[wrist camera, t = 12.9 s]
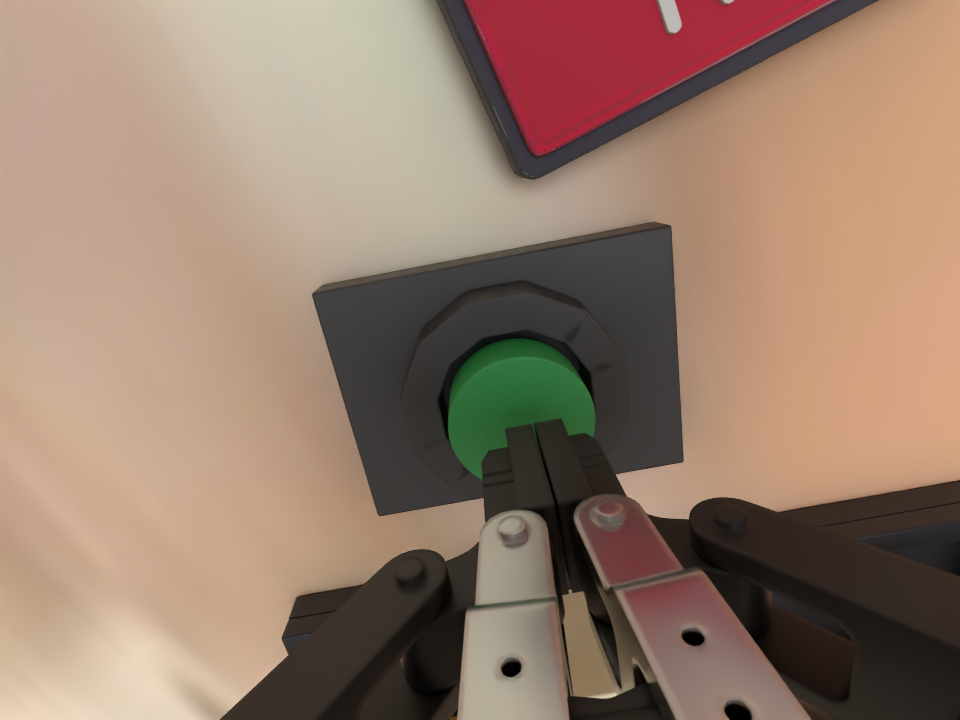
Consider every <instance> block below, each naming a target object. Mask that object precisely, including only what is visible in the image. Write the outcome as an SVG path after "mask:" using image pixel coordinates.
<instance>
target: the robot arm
mask: <svg viewBox="0 0 960 720" xmlns="http://www.w3.org/2000/svg"><path fill="white" fill-rule="evenodd" d="M534 428H535V433H534V429H533V426H532V424H527V425H521V426H516V427H510V428H505V432H506V438H507V443H508V447H505V448H499V449H494V450H488V452H487V454H486V456H485V457H484V459H483V461H482V462H481V465H482V480H483V495H484V509H485V524H484V526H483V527H482V529H481V531H480V535H479V542H478V543H477V544H476V545H475V546H474V547H473V548H472V549H470V550H469V551H467V552H466V553H464V554H462V555H460V556H458V557H455V558H453V559H451V560H448V561H446V562H445V560H444V559H443V557H442V556H441V555H440V554H438V553H436V552H434V551H431V550H425V549H419V550H412V551H408V552H405V553H403V554H400V555H398V556H396V557H395V558H393V559H392V560H390V561H389V562H388V563H387V564H385V565H384V566H383V567H382V568H381V569H380V570H379V571H378V572H377V573H376V574H375V575H374V576H373V577H372V578H370V579H369V580H368V581H367V582H366V583H365V584H364V585H363V586H362V587H361V588H360V589H359V590H358V591H357V592H356V593H354V594H353V595H352V596H351V597H350V598H349V599H348V600H347V601H346V602H345V603H344V604H343V605H342V606H341V607H339V608H338V609H337V610H336V611H335V612H334V613H333V614H332V615H331V616H330V617H329V618H328V619H327V620H326V621H325V622H323V623H322V624H321V625H320V626H319V627H318V628H317V629H316V630H315V631H314V632H313V633H312V634H311V635H310V636H309V637H307V638H306V639H305V640H304V641H303V642H302V643H301V644H300V645H299V646H298V647H297V648H296V649H295V650H294V651H293V652H291V653H290V654H289V655H288V656H287V657H286V658H285V659H284V660H283V661H282V662H281V663H280V664H279V665H278V666H277V667H275V668H274V669H273V670H272V671H271V672H270V673H269V674H268V675H267V676H266V677H265V678H264V679H263V680H262V681H261V682H259V683H258V684H257V685H256V686H255V687H254V688H253V689H252V690H251V691H250V692H249V693H248V694H247V695H246V696H244V697H243V698H242V699H241V700H240V701H239V702H238V703H237V704H236V705H235V706H234V707H233V708H232V709H231V710H230V711H228V712H227V713H226V714H225V715H224V716H223V717H222V718H221V719H220V720H450V718H451V717H452V715H453V714H454V713H455V711H456V710H457V708H458V715H457V720H960V576H957V575H954V574H951V573H948V572H946V571H943V570H940V569H937V568H934V567H931V566H929V565H926V564H923V563H920V562H917V561H914V560H912V559H909V558H906V557H903V556H900V555H897V554H895V553H892V552H889V551H886V550H883V549H880V548H878V547H875V546H872V545H869V544H866V543H863V542H861V541H858V540H855V539H852V538H849V537H846V536H843V535H841V534H838V533H835V532H832V531H829V530H826V529H824V528H821V527H818V526H815V525H812V524H809V523H807V522H804V521H801V520H798V519H795V518H792V517H790V516H787V515H784V514H781V513H778V512H775V511H773V510H770V509H767V508H764V507H761V506H758V505H756V504H753V503H750V502H747V501H744V500H740V499H735V498H724V497H720V498H712V499H707V500H705V501H702V502H700V503H698V504H697V505H696V506H694V507H693V509H692V510H691V512H690V516H689V520H687V519H668V518H660V517H655V516H652V515H648V514H646V513H645V511H644V510H643V508H642V507H641V506H640V504H639V503H637V502H636V501H635V500H633V499H631V498H629V497H627V496H626V494H625V492H624V490H623V488H622V486H621V484H620V483H619V481H618V479H617V477H616V475H615V473H614V471H613V469H612V467H611V465H610V464H609V461H608V459H607V457H606V455H605V454H604V451H603V449H602V447H601V446H600V444H599V442H598V441H597V440H596V439H594V438H593V437H591V436H589V435H588V434H586V433H581V434H575V435H570V436H569V435H568V433H567V431H566V428H565V426H564V423H563V421H562V419H561V418H559V419H553V420H548V421H542V422H537V423H534ZM535 435H536V436H535ZM564 564H565V565H564ZM565 567H566V571H567V575H568V579H569V583H570V586H571V590H572V593H577V592H583V593H584V596H585V599H586V603H587V610H588V617H589V622H590V626H591V629H592V631H593V634H594V637H595V639H596V642H597V644H598V647H599V650H600V652H601V655H602V658H603V660H604V663H605V665H606V668H607V671H608V673H609V676H610V678H611V681H612V684H613V686H614V689H615V692H616V694H617V696H615V697H612V698H607V699H601V698H590V697H578V696H574V693H573V685H572V678H571V671H570V663H569V656H568V648H567V641H566V634H565V627H564V617H565V608H564V602H563V597H562V595H567V594H569V589H568V583H567V577H566V571H565ZM772 592H773V593H775V594H777V595H780V596H782V597H784V598H786V599H788V600H790V601H792V602H795V603H797V604H799V605H801V606H803V607H805V608H807V609H810V610H812V611H814V612H816V613H818V614H820V615H822V616H825V617H827V618H829V619H831V620H832V621H834V622H835V623H837V624H838V625H839V626H841V627H842V628H843V629H844V630H845V631H846V632H847V634H848V635H849V636H850V638H851V640H852V641H850V640H848V639H846V638H844V637H842V636H840V635H838V634H836V633H833V632H831V631H829V630H827V629H825V628H823V627H821V626H819V625H817V624H815V623H813V622H811V621H809V620H806V619H804V618H802V617H800V616H798V615H796V614H794V613H792V612H790V611H788V610H786V609H784V608H782V607H779V606H777V605H775V604H773V603H772ZM399 660H400V662H399V663H398V661H399ZM397 663H398V664H397ZM396 664H397V665H396ZM395 665H396V667H395V668H394V669H393V670H392V668H393V667H394V666H395ZM391 670H392V671H391ZM390 671H391V672H390ZM389 672H390V673H389ZM388 673H389V675H388V676H387V677H386V678H385V676H386V675H387V674H388ZM384 678H385V679H384ZM383 679H384V680H383ZM382 680H383V682H382V683H381V684H380V685H379V683H380V682H381V681H382ZM378 685H379V686H378ZM377 686H378V687H377ZM376 687H377V689H376V690H375V691H374V692H373V690H374V689H375V688H376ZM372 692H373V693H372ZM371 693H372V694H371ZM370 694H371V696H370V697H369V695H370ZM368 697H369V698H368ZM367 698H368V699H367Z"/></svg>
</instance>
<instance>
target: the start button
mask: <svg viewBox="0 0 960 720" xmlns="http://www.w3.org/2000/svg"><path fill="white" fill-rule="evenodd" d="M559 418H561V419H562V421H563V423H564V426H565V428H566V431H567V433H568V435H569V436H570V435H575V434H581V433H586V434H588V435H589V436H591V437H593V434H594V430H595V409H594V404H593V401H592V398H591V395H590V393H589V392H588V390H587V388H586V386H585V384H584V383H583V381H582V379H581V378H580V376H579V374H578V373H577V371H576V369H575V368H574V366H573V365H572V364H571V362H570V361H569V360H568V359H567V358H566V357H565V356H564V355H563V354H562V353H561V352H560V351H558V350H557V349H555V348H554V347H552V346H550V345H548V344H546V343H543V342H541V341H537V340H533V339H526V338H511V339H504V340H500V341H496V342H494V343H491V344H488V345H486V346H485V347H483V348H481V349H479V350H478V351H476V352H475V353H474V354H472V355H471V356H470V357H469V358H468V359H467V360H466V361H465V362H464V363H463V365H462V366H461V367H460V369H459V370H458V372H457V373H456V375H455V378H454V380H453V382H452V386H451V389H450V395H449V412H448V432H449V439H450V442H451V445H452V448H453V450H454V452H455V454H456V456H457V458H458V459H459V461H460V462H461V463H462V464H463V465H464V467H465V468H466V469H467V470H469V471H470V472H471V473H472V474H473V475H475V476H476V477H478V478H479V479H481V480H482V465H481V462H482V461H483V459H484V457H485V456H486V454H487V452H488V450H494V449H499V448H505V447H508V443H507V438H506V432H505V428H510V427H516V426H521V425H527V424H532V426H533V429H534V433H535V428H534V423H537V422H542V421H548V420H553V419H559ZM535 436H536V435H535Z"/></svg>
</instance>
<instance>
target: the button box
mask: <svg viewBox="0 0 960 720" xmlns="http://www.w3.org/2000/svg"><path fill="white" fill-rule="evenodd" d="M312 297H313V300H314V304H315V307H316V310H317V314H318V317H319V320H320V324H321V327H322V330H323V334H324V337H325V340H326V344H327V347H328V350H329V354H330V357H331V360H332V364H333V367H334V370H335V373H336V377H337V380H338V383H339V387H340V390H341V393H342V397H343V400H344V403H345V407H346V410H347V413H348V417H349V420H350V423H351V427H352V430H353V433H354V437H355V440H356V443H357V447H358V450H359V453H360V457H361V460H362V463H363V467H364V470H365V473H366V477H367V480H368V483H369V487H370V490H371V493H372V497H373V500H374V503H375V507H376V510H377V513H378V515H379V516H384V515H389V514H395V513H401V512H406V511H412V510H418V509H423V508H429V507H434V506H440V505H446V504H451V503H457V502H462V501H468V500H474V499H479V498H484V495H483V480H481V479H479V478H478V477H476V476H475V475H473V474H472V473H471V472H470V471H469V470H467V469H466V468H465V467H464V465H463V464H462V463H461V462H460V461H459V459H458V458H457V456H456V454H455V452H454V450H453V448H452V445H451V442H450V439H449V432H448V412H449V395H450V389H451V386H452V382H453V380H454V378H455V375H456V373H457V372H458V370H459V369H460V367H461V366H462V365H463V363H464V362H465V361H466V360H467V359H468V358H469V357H470V356H471V355H472V354H474V353H475V352H476V351H478V350H479V349H481V348H483V347H485V346H486V345H488V344H491V343H494V342H496V341H500V340H504V339H511V338H526V339H533V340H537V341H541V342H543V343H546V344H548V345H550V346H552V347H554V348H555V349H557V350H558V351H560V352H561V353H562V354H563V355H564V356H565V357H566V358H567V359H568V360H569V361H570V362H571V364H572V365H573V366H574V368H575V369H576V371H577V373H578V374H579V376H580V378H581V379H582V381H583V383H584V384H585V386H586V388H587V390H588V392H589V393H590V395H591V398H592V401H593V404H594V409H595V430H594V434H593V438H594V439H596V440H597V441H598V442H599V444H600V446H601V447H602V449H603V451H604V454H605V455H606V457H607V459H608V461H609V464H610V465H611V467H612V469H613V471H614V473H615V474H620V473H625V472H631V471H636V470H642V469H648V468H653V467H659V466H664V465H670V464H676V463H681V462H683V461H684V459H683V440H682V421H681V402H680V383H679V364H678V345H677V325H676V306H675V287H674V268H673V249H672V230H671V226H670V225H666V224H662V223H657V222H652V223H647V224H641V225H636V226H631V227H626V228H620V229H615V230H610V231H605V232H599V233H594V234H589V235H584V236H578V237H573V238H568V239H563V240H557V241H552V242H547V243H542V244H536V245H531V246H526V247H521V248H515V249H510V250H505V251H500V252H494V253H489V254H484V255H478V256H473V257H468V258H463V259H457V260H452V261H447V262H442V263H436V264H431V265H426V266H421V267H415V268H410V269H405V270H400V271H394V272H389V273H384V274H379V275H373V276H368V277H363V278H358V279H352V280H347V281H342V282H337V283H331V284H326V285H323V286H321V287H320V288H319V289H317V290H316V291H315V292H314V293H312Z"/></svg>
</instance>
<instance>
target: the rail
mask: <svg viewBox="0 0 960 720" xmlns="http://www.w3.org/2000/svg"><path fill="white" fill-rule="evenodd" d="M781 514H784V515H787V516H790V517H792V518H795V519H798V520H801V521H804V522H807V523H809V524H812V525H815V526H818V527H821V528H824V529H826V530H829V531H832V532H835V533H838V534H841V535H843V536H846V537H849V538H852V539H855V540H858V541H861V542H863V543H866V544H869V545H872V546H875V547H878V548H880V549H883V550H886V551H889V552H892V553H895V554H897V555H900V556H903V557H906V558H909V559H912V560H914V561H917V562H920V563H923V564H926V565H929V566H931V567H934V568H937V569H940V570H943V571H946V572H948V573H951V574H954V575H957V576H960V481H958V482H952V483H947V484H941V485H935V486H930V487H924V488H918V489H912V490H907V491H901V492H895V493H890V494H884V495H878V496H872V497H867V498H861V499H855V500H850V501H844V502H838V503H832V504H827V505H821V506H815V507H810V508H804V509H798V510H792V511H787V512H781ZM564 565H565V564H564ZM565 571H566V567H565ZM566 577H567V583H568V589H569V590H571V586H570V583H569V579H568V575H567V571H566ZM361 587H362V586H358V587H352V588H347V589H341V590H335V591H329V592H324V593H318V594H312V595H307V596H301V597H297V598H296V601H295V604H294V606H293V609H292V611H291V614H290V617H289V620H288V623H287V625H286V628H285V631H284V633H283V636H282V641H283V643H284V646H285V648H286V650H287V653H288V655H289V654H290V653H291V652H293V651H294V650H295V649H296V648H297V647H298V646H299V645H300V644H301V643H302V642H303V641H304V640H305V639H306V638H307V637H309V636H310V635H311V634H312V633H313V632H314V631H315V630H316V629H317V628H318V627H319V626H320V625H321V624H322V623H323V622H325V621H326V620H327V619H328V618H329V617H330V616H331V615H332V614H333V613H334V612H335V611H336V610H337V609H338V608H339V607H341V606H342V605H343V604H344V603H345V602H346V601H347V600H348V599H349V598H350V597H351V596H352V595H353V594H354V593H356V592H357V591H358V590H359V589H360V588H361ZM772 603H773V604H775V605H777V606H779V607H782V608H784V609H786V610H788V611H790V612H792V613H794V614H796V615H798V616H800V617H802V618H804V619H806V620H809V621H811V622H813V623H815V624H817V625H819V626H821V627H823V628H825V629H827V630H829V631H831V632H833V633H836V634H838V635H840V636H842V637H844V638H846V639H848V640H850V641H852V640H851V638H850V636H849V635H848V634H847V632H846V631H845V630H844V629H843V628H842V627H841V626H839V625H838V624H837V623H835V622H834V621H832V620H831V619H829V618H827V617H825V616H822V615H820V614H818V613H816V612H814V611H812V610H810V609H807V608H805V607H803V606H801V605H799V604H797V603H795V602H792V601H790V600H788V599H786V598H784V597H782V596H780V595H777V594H775V593H773V592H772ZM399 662H400V660H399V661H398V663H399ZM398 663H397V664H398ZM397 664H396V665H397ZM396 665H395V666H394V667H393V668H392V670H393V669H394V668H395V667H396ZM392 670H391V671H392ZM391 671H390V672H391ZM390 672H389V673H390ZM389 673H388V674H387V675H386V676H385V678H386V677H387V676H388V675H389ZM385 678H384V679H385ZM384 679H383V680H384ZM383 680H382V681H381V682H380V683H379V685H380V684H381V683H382V682H383ZM379 685H378V686H379ZM378 686H377V687H378ZM377 687H376V688H375V689H374V690H373V692H374V691H375V690H376V689H377ZM373 692H372V693H373ZM372 693H371V694H372ZM371 694H370V695H369V697H370V696H371ZM369 697H368V698H369ZM368 698H367V699H368ZM457 715H458V708H457V710H456V711H455V713H454V714H453V715H452V717H454V716H457Z"/></svg>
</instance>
